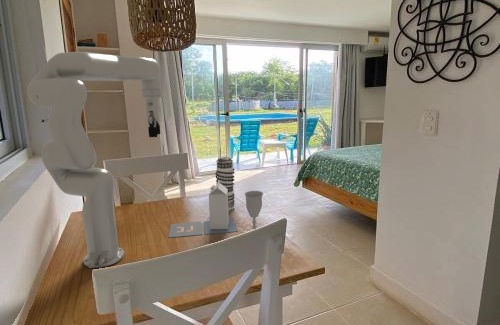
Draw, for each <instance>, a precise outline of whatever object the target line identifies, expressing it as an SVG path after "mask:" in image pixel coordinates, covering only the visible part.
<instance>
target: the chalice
mask: <svg viewBox="0 0 500 325" xmlns="http://www.w3.org/2000/svg"><path fill="white" fill-rule="evenodd" d="M263 195H264V193H263V191H260V190H250V191H249V190H248V191H245V193H244V196H245V207H246V210H247V212H248V215H249V216H250V218H252V226H251V227H252V230H253V229H255V230H257V229H256V228H257V225H256V223H257V221H256V220H257V219H256V218H257V217H258V216H259V214H261V209H262V207H263Z"/></svg>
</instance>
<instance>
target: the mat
mask: <svg viewBox="0 0 500 325" xmlns="http://www.w3.org/2000/svg"><path fill="white" fill-rule="evenodd" d="M203 227H204V228H203V229H204V235H216V234H225V233H226V234H227V233H237V232H238V229H237V226H236V222H235V219H234V218H229V224H228V229H210V220H204V221H203Z"/></svg>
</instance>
